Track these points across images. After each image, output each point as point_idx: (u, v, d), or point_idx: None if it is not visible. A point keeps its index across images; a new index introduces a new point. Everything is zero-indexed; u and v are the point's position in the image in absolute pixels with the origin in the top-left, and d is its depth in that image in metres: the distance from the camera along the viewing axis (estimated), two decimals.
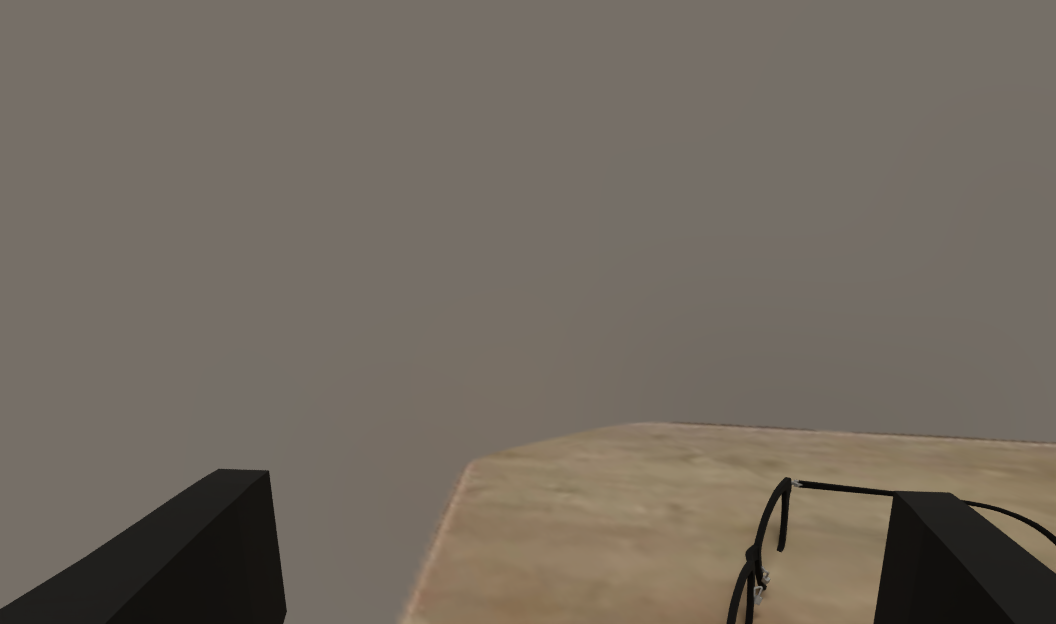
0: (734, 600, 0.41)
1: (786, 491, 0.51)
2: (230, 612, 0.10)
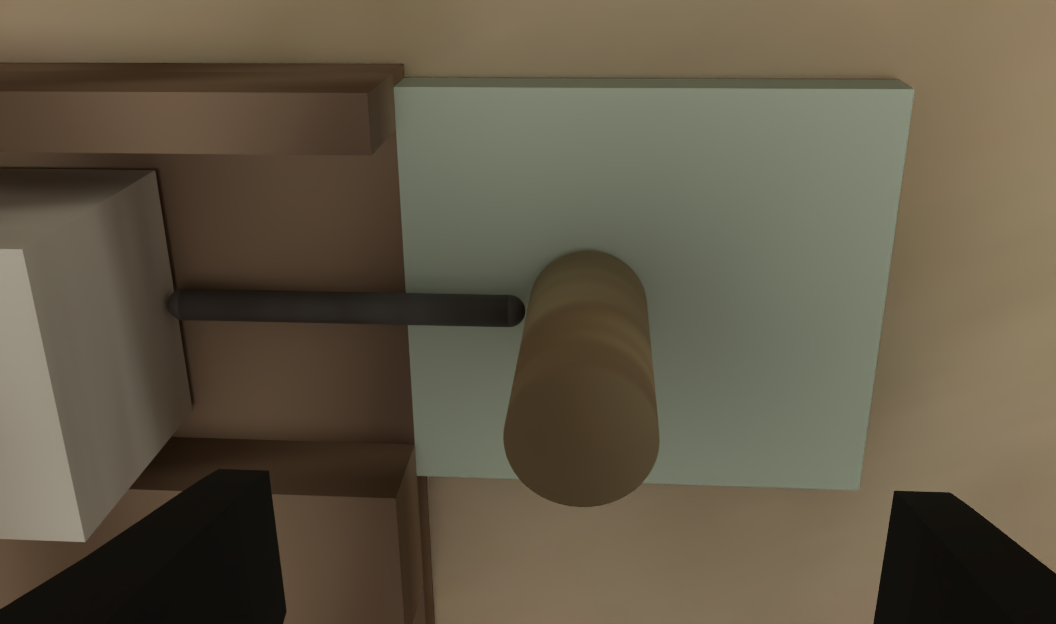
0: None
1: None
2: (230, 611, 0.10)
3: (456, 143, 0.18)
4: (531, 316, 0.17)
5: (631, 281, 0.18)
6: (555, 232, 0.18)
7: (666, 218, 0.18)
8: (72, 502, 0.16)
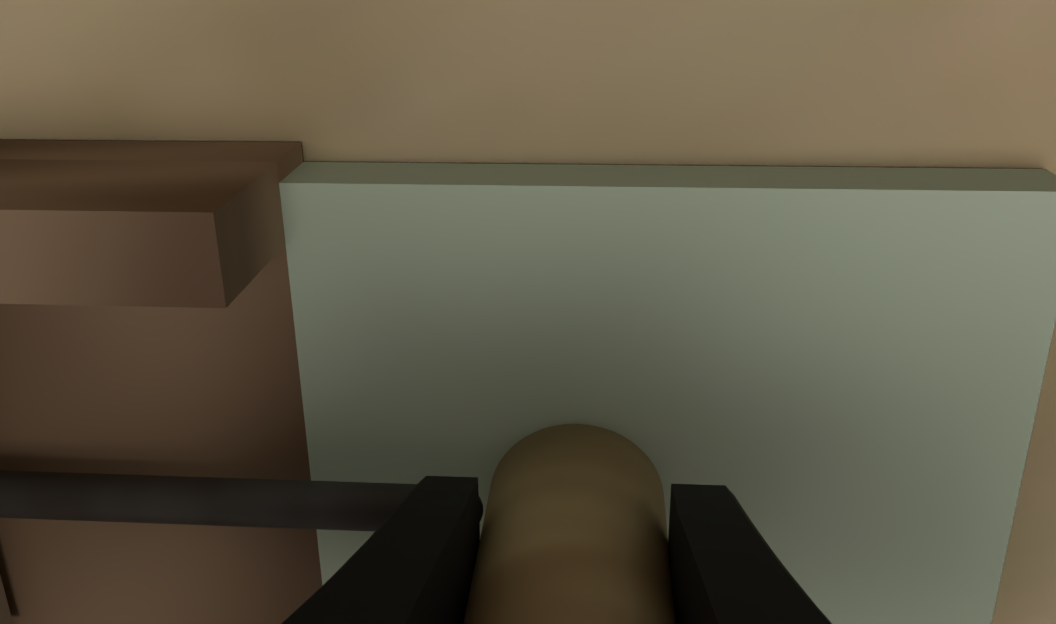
0: None
1: None
2: (458, 621, 0.10)
3: (377, 265, 0.12)
4: (485, 553, 0.11)
5: (641, 478, 0.12)
6: (527, 393, 0.12)
7: (693, 375, 0.12)
8: None
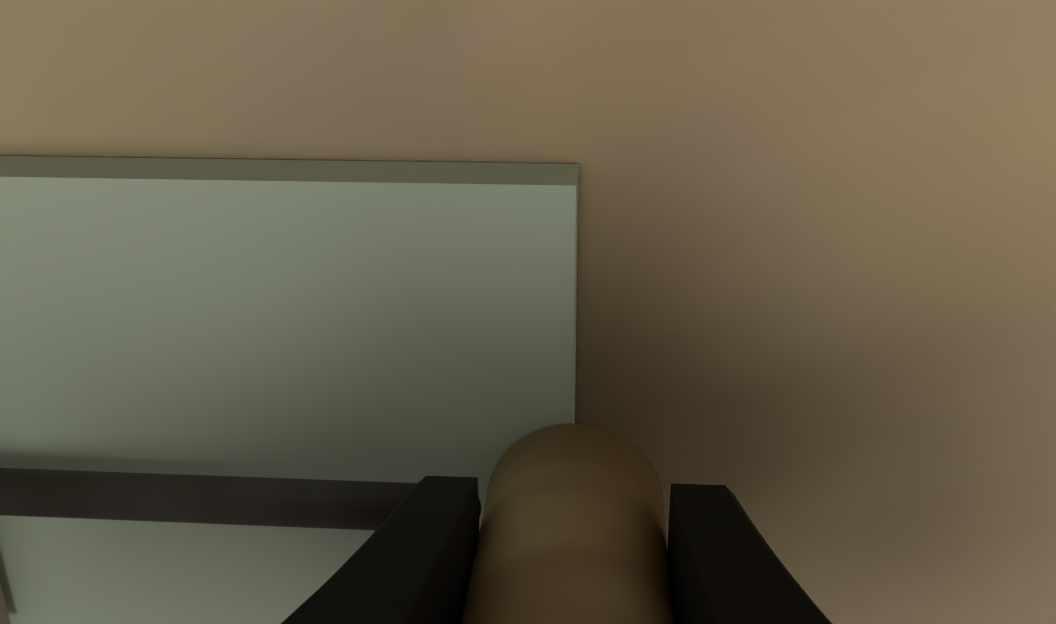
0: None
1: None
2: (458, 621, 0.10)
3: None
4: (483, 552, 0.11)
5: (640, 478, 0.12)
6: (95, 379, 0.13)
7: (247, 362, 0.12)
8: None
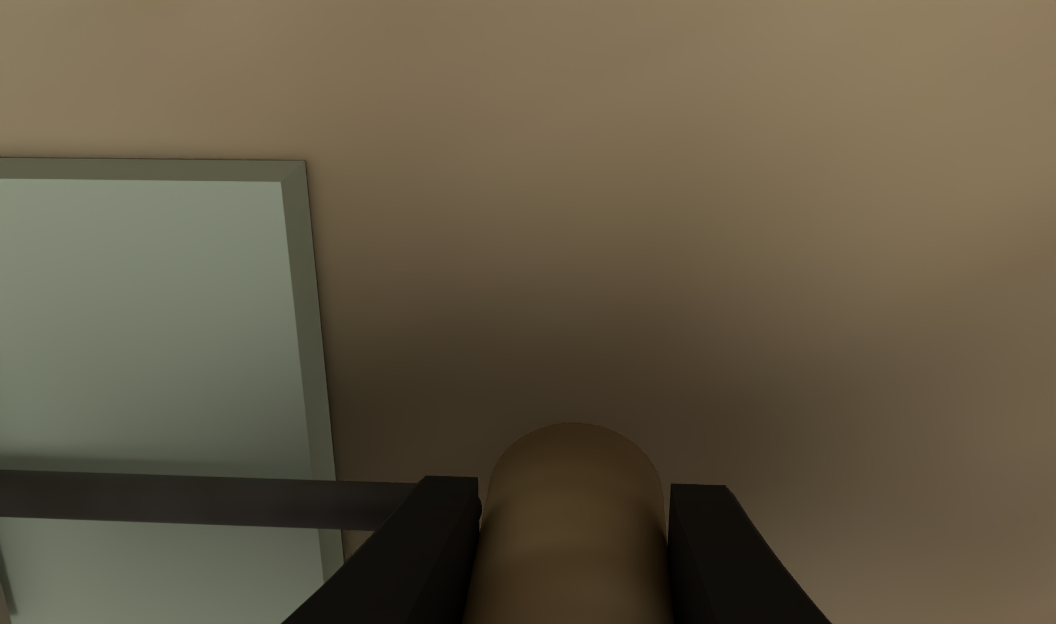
0: None
1: None
2: (458, 621, 0.10)
3: None
4: (484, 552, 0.11)
5: (640, 478, 0.12)
6: None
7: None
8: None
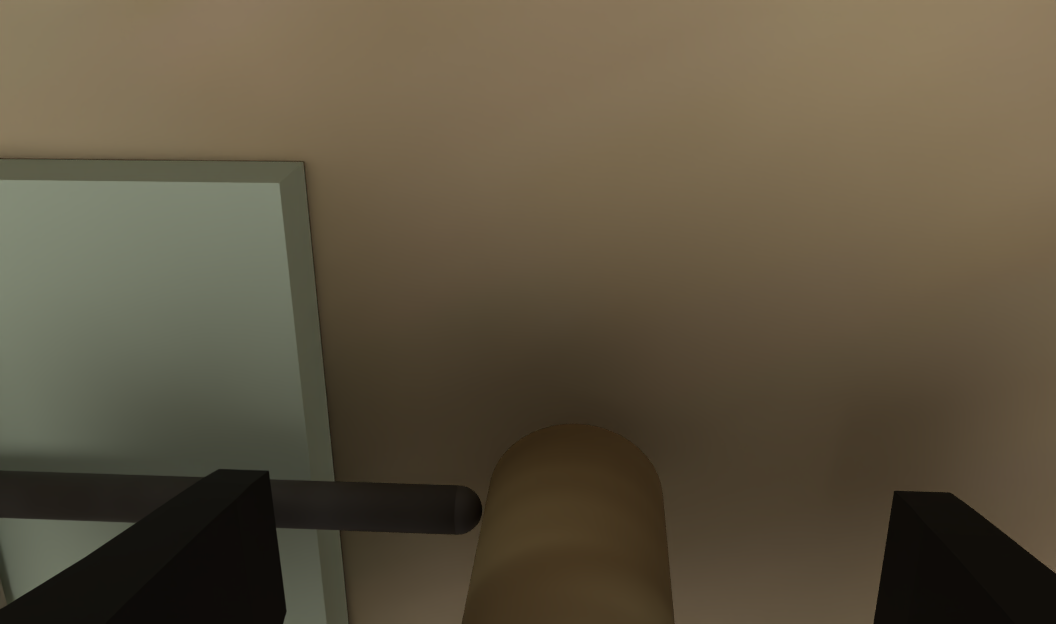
0: None
1: None
2: (230, 612, 0.10)
3: None
4: (484, 553, 0.11)
5: (640, 478, 0.12)
6: None
7: None
8: None
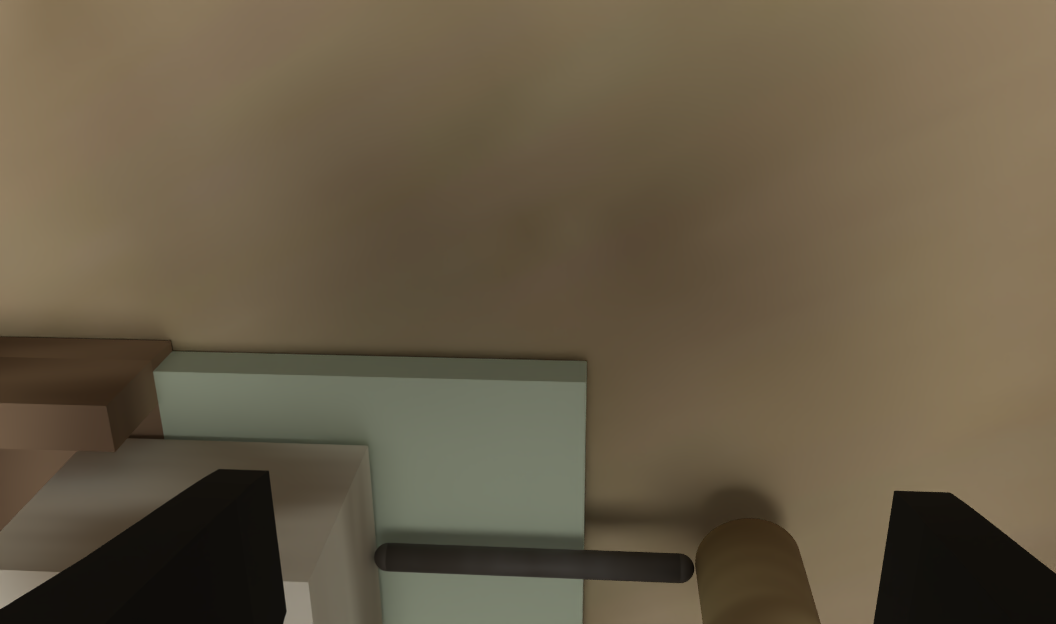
0: None
1: None
2: (230, 611, 0.10)
3: (210, 415, 0.21)
4: (715, 597, 0.19)
5: (793, 552, 0.20)
6: None
7: (392, 476, 0.21)
8: None
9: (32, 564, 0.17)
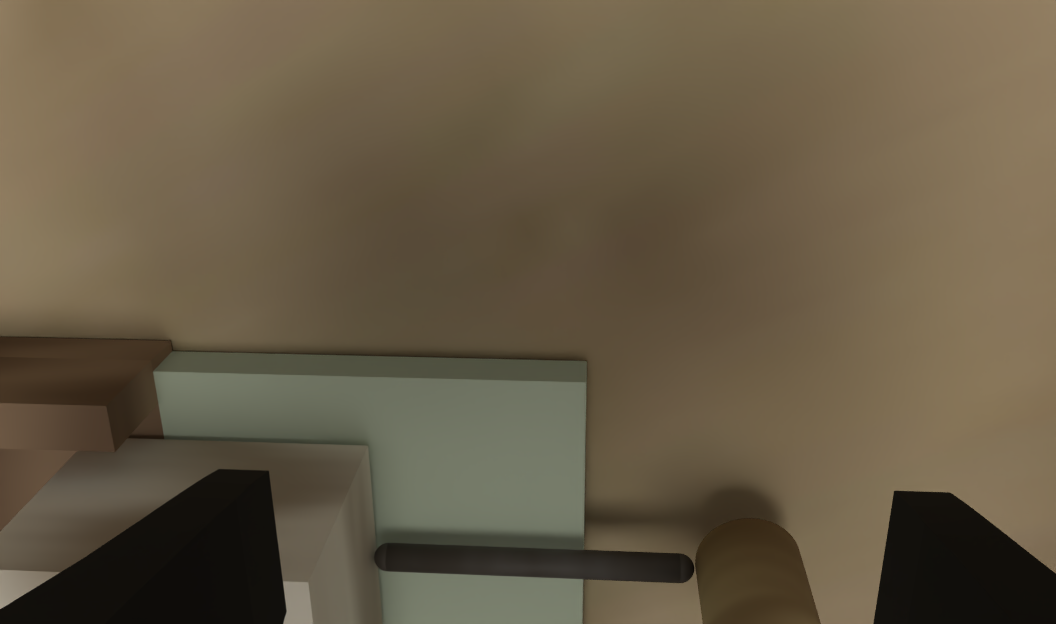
0: None
1: None
2: (230, 611, 0.10)
3: (210, 415, 0.21)
4: (715, 597, 0.19)
5: (793, 552, 0.20)
6: None
7: (392, 476, 0.21)
8: None
9: (32, 564, 0.17)
